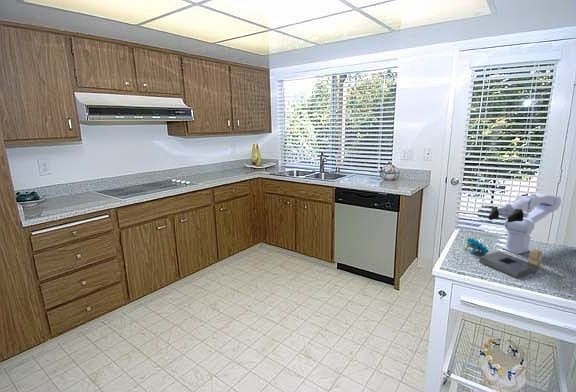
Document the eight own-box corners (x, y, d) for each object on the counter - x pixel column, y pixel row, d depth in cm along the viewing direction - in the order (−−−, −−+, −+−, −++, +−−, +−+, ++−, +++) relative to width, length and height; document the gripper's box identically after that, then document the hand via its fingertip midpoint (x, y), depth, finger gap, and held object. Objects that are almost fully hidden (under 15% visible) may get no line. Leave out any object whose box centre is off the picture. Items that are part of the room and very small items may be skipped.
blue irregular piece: (493, 253, 143) (480, 239, 141) (485, 263, 143) (472, 249, 141) (475, 247, 154) (463, 234, 152) (468, 256, 154) (455, 243, 152)
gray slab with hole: (498, 256, 143) (499, 251, 143) (536, 271, 129) (537, 265, 128) (479, 261, 138) (479, 256, 138) (516, 277, 124) (517, 272, 124)
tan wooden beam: (533, 263, 136) (535, 249, 134) (539, 266, 133) (542, 251, 132) (527, 265, 134) (529, 250, 132) (533, 268, 132) (536, 253, 130)
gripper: (496, 199, 147) (480, 208, 141) (532, 202, 134) (516, 212, 128) (498, 213, 148) (482, 223, 142) (534, 217, 136) (518, 227, 130)
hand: (498, 218), depth 135 cm, fingers open, 7 cm apart
